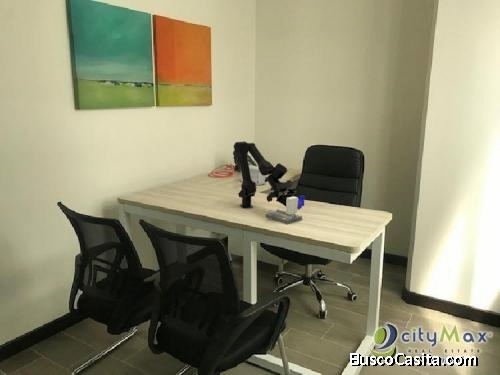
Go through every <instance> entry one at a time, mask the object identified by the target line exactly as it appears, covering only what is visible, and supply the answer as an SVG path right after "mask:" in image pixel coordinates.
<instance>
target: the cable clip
mask: <svg viewBox="0 0 500 375" xmlns="http://www.w3.org/2000/svg"><path fill="white" fill-rule="evenodd" d="M303 206H305V195H299V196H298V207H297V211H298V210H301V209H302V208H303Z"/></svg>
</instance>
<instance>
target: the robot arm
mask: <svg viewBox="0 0 500 375" xmlns="http://www.w3.org/2000/svg"><path fill="white" fill-rule="evenodd" d="M233 149H234V154H235V155H236V156H237V157H238V160H239V168H240V167H241V168H240V174H241V173H242V178H243V182H242V183H241V190H240V191H239V192H238V194H237V195H238V197H239V198H241V204H239V206H240V207H241V208H242V209H247V208H248V209H250V208H254V206H253V205H252V197H255V196H256V192H257V185H256V183H255V182H253V181H252V180H251V175H250V170H249V165H250V163H248V162H249V159H248V153H249V154H250V155H251V157H252V158H253V159H254V162H256V164H257V166H258V169H259V171H260V173H261V174H262V175H264V176H265V175H266V177H265V182H266V183H268V184H269V186H270V187H271V188H270V190H271V192H269V194H268V195H267V196H266V201H267V202H268V203H271V202H272V201H273V199H275V198H276V200H275V201H276V202H278V203H279V204H281V205H283V206H285V207H286V199H287V198H289V197H293V196H294V195H295V194H296V193H297V191H298V190H297V189H296V187H292V186H293V181H292V180H291V179H288V180H286V181H285V182H283V181H281V179H282V178H283V177H284V176H285V175H286V174H287V173H288V169H287V167H286V166H284V165H282V163H276V165H275V166H274V165H273V164H272V163H271V162H270V161H269V160H266V159H265V157H264V156H263V155H262V153H261V152H260V150H259V149H258V148H257V146H256V144H255V143H253V142H247V141H236V142H234V144H233Z"/></svg>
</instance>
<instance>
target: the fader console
mask: <svg viewBox="0 0 500 375" xmlns="http://www.w3.org/2000/svg"><path fill="white" fill-rule="evenodd" d="M265 218H267V219H270V220H273V221H276V222H279V223H281V224H282V223H283V224H284V225H289V224H293V223H296V222H299V221H302V220H303V216H302V215H299V214H297V213H295V215H294V217H293V218H292V217H291V216H289V214H287V213H286V210H282V209H278V208H277V209H276V210H275V211H274V210H270V212H268V213H265Z"/></svg>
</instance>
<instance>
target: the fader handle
mask: <svg viewBox="0 0 500 375" xmlns="http://www.w3.org/2000/svg"><path fill="white" fill-rule="evenodd" d="M298 199H299V196H298V197H297V196H294V195H293V196H292V197H289V198H287V199H286V206H285V211H286V213H287V214H289V216H291V217H292V218H293V217H294V215H295V214H297V213H298V210H297V207H298Z"/></svg>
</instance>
